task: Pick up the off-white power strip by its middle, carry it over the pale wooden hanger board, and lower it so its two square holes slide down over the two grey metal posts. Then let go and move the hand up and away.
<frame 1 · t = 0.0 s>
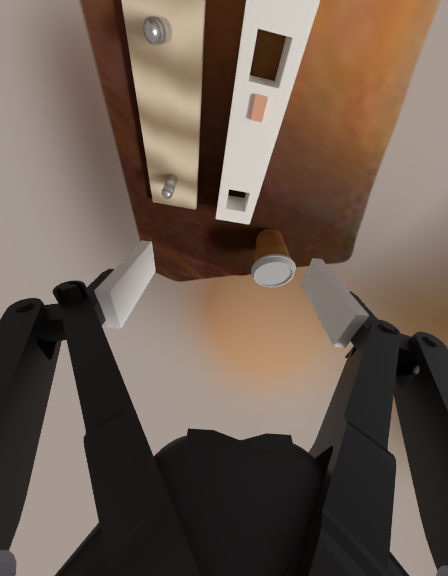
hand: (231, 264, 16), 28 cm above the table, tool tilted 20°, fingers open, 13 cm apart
disposable coffee cup: (268, 238, 49), on the table
hanger posts: (171, 119, 30), resting on hanger board
power strip: (248, 136, 31), on the table
hanger board: (171, 119, 30), on the table
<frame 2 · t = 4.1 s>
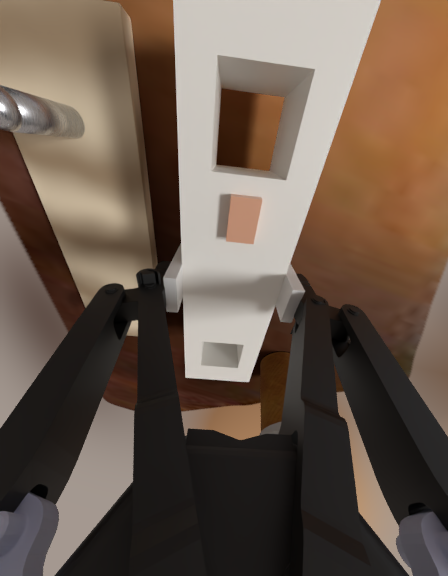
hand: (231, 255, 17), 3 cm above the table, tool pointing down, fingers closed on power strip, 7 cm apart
disposable coffee cup: (278, 362, 32), on the table
hanger posts: (110, 232, 20), resting on hanger board
power strip: (231, 252, 17), point 3 cm above the table, touching gripper
hanger board: (110, 232, 20), on the table
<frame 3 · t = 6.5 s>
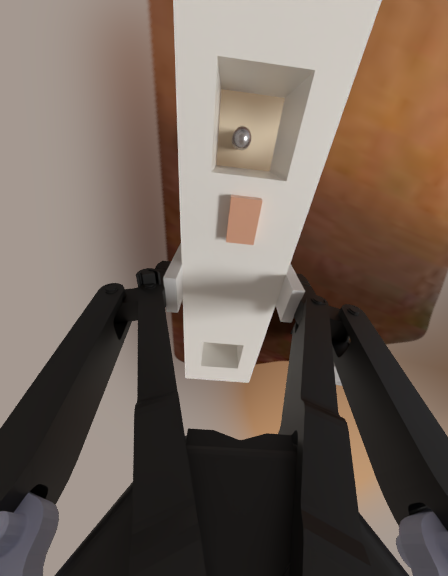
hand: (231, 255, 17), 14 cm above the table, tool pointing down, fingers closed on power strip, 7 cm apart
hanger posts: (230, 212, 28), resting on hanger board
power strip: (231, 252, 17), point 14 cm above the table, touching gripper
hanger board: (230, 212, 28), on the table
when the fingers open (2 cm above the table, at t = 9.0 s): power strip stays where it is, resting on hanger board.
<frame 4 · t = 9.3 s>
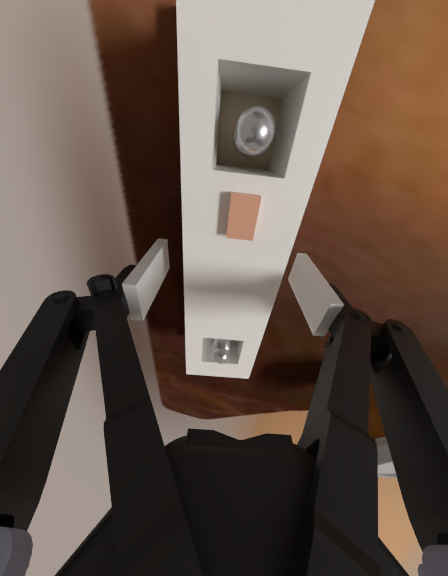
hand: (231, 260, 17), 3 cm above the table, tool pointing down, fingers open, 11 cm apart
disposable coffee cup: (353, 370, 32), on the table
hanger posts: (231, 245, 19), resting on hanger board
power strip: (231, 250, 18), point 1 cm above the table, touching hanger board
hanger board: (231, 245, 19), on the table
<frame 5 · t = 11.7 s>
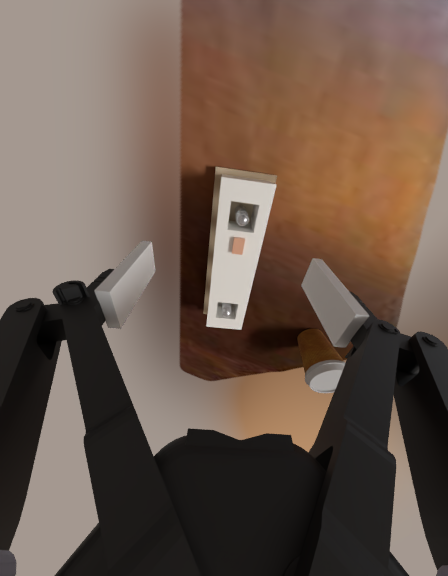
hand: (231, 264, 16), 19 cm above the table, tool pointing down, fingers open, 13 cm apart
disposable coffee cup: (309, 336, 49), on the table
hanger posts: (232, 255, 37), resting on hanger board
power strip: (232, 258, 35), point 1 cm above the table, touching hanger board
hanger board: (232, 255, 37), on the table
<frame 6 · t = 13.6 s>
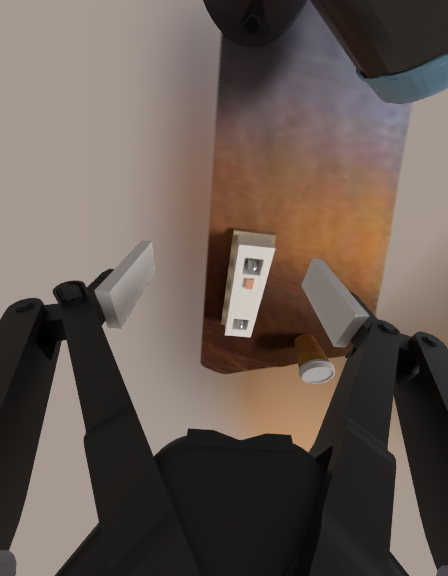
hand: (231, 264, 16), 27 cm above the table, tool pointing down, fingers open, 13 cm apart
disposable coffee cup: (304, 339, 62), on the table
hanger posts: (243, 283, 49), resting on hanger board
power strip: (244, 286, 48), point 1 cm above the table, touching hanger board
hanger board: (243, 283, 49), on the table
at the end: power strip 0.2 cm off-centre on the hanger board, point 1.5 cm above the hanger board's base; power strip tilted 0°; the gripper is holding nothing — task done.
